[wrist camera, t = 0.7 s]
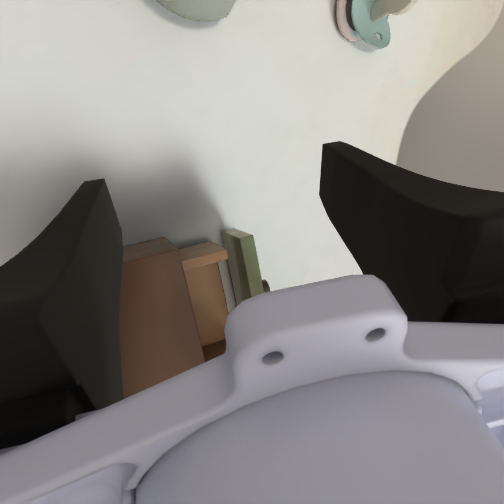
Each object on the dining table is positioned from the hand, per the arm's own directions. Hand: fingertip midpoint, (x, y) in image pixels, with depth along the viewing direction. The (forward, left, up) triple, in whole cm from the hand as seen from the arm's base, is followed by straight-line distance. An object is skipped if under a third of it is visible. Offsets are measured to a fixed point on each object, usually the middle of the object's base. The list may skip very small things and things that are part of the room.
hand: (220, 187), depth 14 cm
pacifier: (+12, -24, -24) cm, 36 cm away
